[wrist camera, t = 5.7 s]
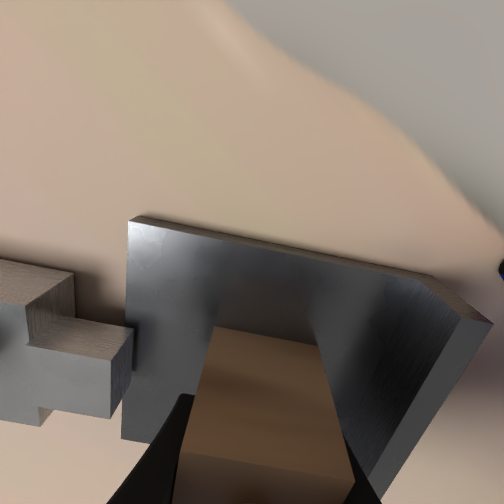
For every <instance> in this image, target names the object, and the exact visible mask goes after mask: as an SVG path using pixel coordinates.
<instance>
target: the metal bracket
mask: <svg viewBox="0 0 504 504" xmlns="http://www.w3.org/2000/svg"><path fill="white" fill-rule="evenodd" d="M493 325H494V324H493V323H492V322H490V321H489V320H488V319H487V318H485V317H484V316H483V315H481V314H480V313H479V312H478V311H476V310H475V309H474V308H472V307H471V306H470V305H468V304H467V303H466V302H465V301H463V300H462V299H461V298H459V297H458V296H457V295H456V294H454V293H453V292H452V291H450V290H449V289H448V288H447V287H445V286H444V285H443V284H441V283H440V282H439V281H437V280H436V279H435V278H434V277H432V276H429V275H425V274H420V273H415V272H410V271H405V270H400V269H395V268H390V267H386V266H381V265H376V264H371V263H366V262H361V261H356V260H351V259H346V258H342V257H337V256H332V255H327V254H322V253H317V252H312V251H307V250H303V249H298V248H293V247H288V246H283V245H278V244H273V243H268V242H264V241H259V240H254V239H249V238H244V237H239V236H234V235H229V234H224V233H220V232H215V231H210V230H205V229H200V228H195V227H190V226H185V225H181V224H176V223H171V222H166V221H161V220H156V219H151V218H146V217H141V216H137V217H135V218H133V219H131V220H129V221H128V248H127V278H126V307H125V327H126V328H132V329H134V331H133V351H132V372H131V383H130V385H129V387H128V388H127V390H126V392H125V394H124V396H123V397H122V425H121V439H125V440H130V441H136V442H142V443H148V444H151V443H152V441H153V440H154V438H155V437H156V435H157V434H158V432H159V431H160V429H161V427H162V426H163V424H164V422H165V421H166V419H167V417H168V416H169V414H170V412H171V411H172V409H173V407H174V405H175V403H176V401H177V399H178V397H179V395H180V394H182V393H186V394H191V395H196V391H197V387H198V384H199V380H200V376H201V373H202V369H203V365H204V362H205V358H206V354H207V351H208V347H209V343H210V340H211V336H212V332H213V329H214V326H217V327H222V328H227V329H232V330H237V331H242V332H247V333H253V334H258V335H263V336H268V337H273V338H278V339H283V340H289V341H294V342H299V343H304V344H309V345H314V346H318V347H319V351H320V354H321V358H322V362H323V365H324V369H325V373H326V376H327V380H328V384H329V387H330V391H331V395H332V398H333V402H334V406H335V409H336V413H337V416H338V420H339V424H340V427H341V431H342V433H343V435H344V437H345V438H346V440H347V442H348V444H349V446H350V448H351V450H352V452H353V453H354V455H355V457H356V459H357V461H358V463H359V464H360V466H361V468H362V470H363V472H364V473H365V475H366V477H367V479H368V480H369V482H370V484H371V486H372V487H373V489H374V491H375V493H376V494H377V496H378V498H379V499H380V500H381V498H382V497H383V495H384V494H385V492H386V491H387V489H388V488H389V486H390V484H391V483H392V481H393V480H394V478H395V477H396V475H397V474H398V472H399V470H400V469H401V467H402V466H403V464H404V463H405V461H406V460H407V458H408V456H409V455H410V453H411V452H412V450H413V449H414V447H415V446H416V444H417V443H418V441H419V439H420V438H421V436H422V435H423V433H424V432H425V430H426V429H427V427H428V425H429V424H430V422H431V421H432V419H433V418H434V416H435V415H436V413H437V411H438V410H439V408H440V407H441V405H442V404H443V402H444V401H445V399H446V398H447V396H448V394H449V393H450V391H451V390H452V388H453V387H454V385H455V384H456V382H457V380H458V379H459V377H460V376H461V374H462V373H463V371H464V370H465V368H466V366H467V365H468V363H469V362H470V360H471V359H472V357H473V356H474V354H475V352H476V351H477V349H478V348H479V346H480V345H481V343H482V342H483V340H484V339H485V337H486V335H487V334H488V332H489V331H490V329H491V328H492V326H493Z"/></svg>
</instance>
